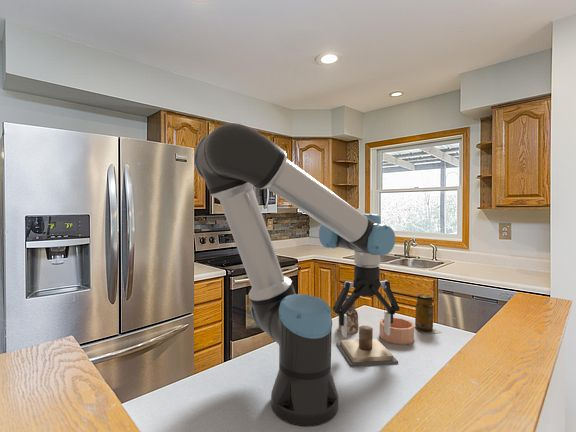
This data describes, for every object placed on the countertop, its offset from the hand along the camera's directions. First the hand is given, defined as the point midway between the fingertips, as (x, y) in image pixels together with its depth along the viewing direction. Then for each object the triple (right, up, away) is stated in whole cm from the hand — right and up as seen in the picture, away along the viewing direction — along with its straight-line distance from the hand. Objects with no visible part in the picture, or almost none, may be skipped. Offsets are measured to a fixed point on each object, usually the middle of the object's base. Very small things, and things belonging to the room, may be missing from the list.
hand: (365, 334), depth 98 cm
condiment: (+27, -6, +20) cm, 34 cm away
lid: (0, -5, 0) cm, 5 cm away
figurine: (-2, -5, +19) cm, 20 cm away
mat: (0, -6, 0) cm, 6 cm away
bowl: (+13, -5, +12) cm, 19 cm away
